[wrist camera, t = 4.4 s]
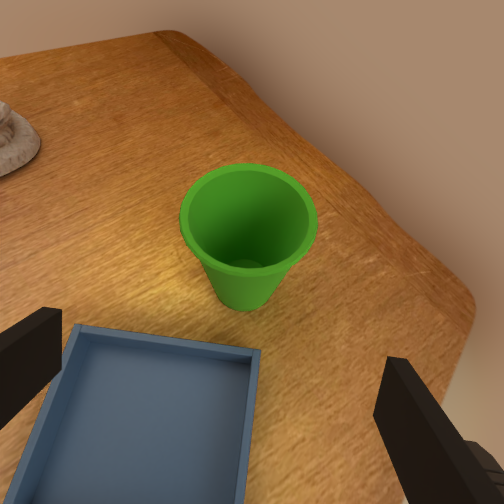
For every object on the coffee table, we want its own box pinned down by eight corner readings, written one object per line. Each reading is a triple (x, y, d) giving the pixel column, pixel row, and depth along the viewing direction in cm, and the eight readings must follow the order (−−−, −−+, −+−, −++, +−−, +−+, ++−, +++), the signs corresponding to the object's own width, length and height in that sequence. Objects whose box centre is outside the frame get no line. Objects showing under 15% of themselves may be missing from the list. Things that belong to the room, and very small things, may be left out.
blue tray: (258, 359, 29) (261, 349, 27) (234, 570, 22) (234, 584, 20) (87, 335, 29) (74, 323, 27) (13, 536, 23) (-15, 546, 20)
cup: (287, 342, 30) (313, 286, 21) (182, 324, 30) (160, 260, 21) (297, 252, 35) (322, 173, 25) (206, 237, 35) (197, 153, 26)
